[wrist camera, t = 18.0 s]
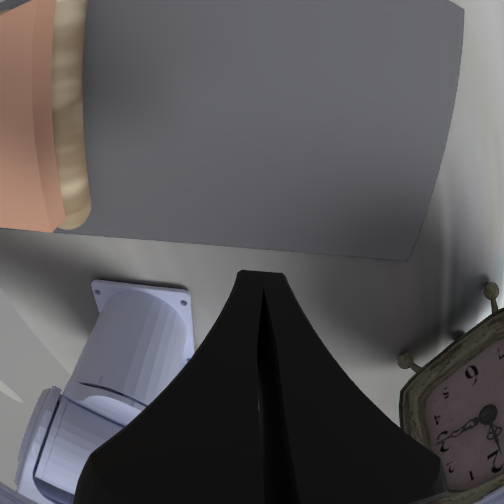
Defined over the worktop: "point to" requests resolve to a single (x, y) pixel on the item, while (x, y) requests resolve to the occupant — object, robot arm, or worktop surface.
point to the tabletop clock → (462, 408)
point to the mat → (267, 121)
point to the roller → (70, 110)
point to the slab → (28, 120)
